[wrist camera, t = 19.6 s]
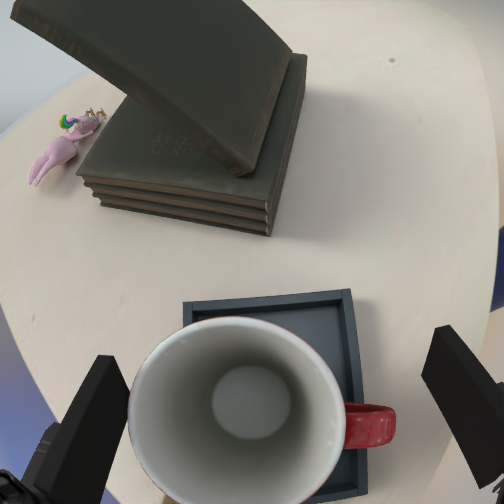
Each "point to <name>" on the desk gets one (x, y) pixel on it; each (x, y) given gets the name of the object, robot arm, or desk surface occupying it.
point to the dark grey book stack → (184, 105)
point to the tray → (326, 345)
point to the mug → (244, 415)
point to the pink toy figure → (64, 144)
